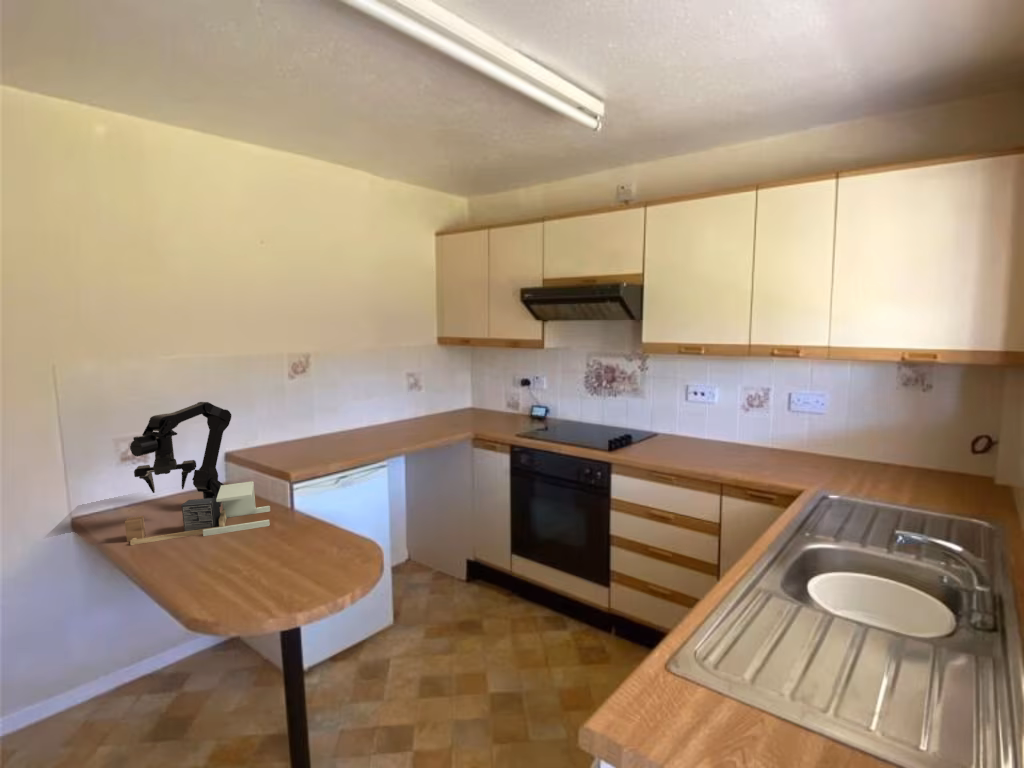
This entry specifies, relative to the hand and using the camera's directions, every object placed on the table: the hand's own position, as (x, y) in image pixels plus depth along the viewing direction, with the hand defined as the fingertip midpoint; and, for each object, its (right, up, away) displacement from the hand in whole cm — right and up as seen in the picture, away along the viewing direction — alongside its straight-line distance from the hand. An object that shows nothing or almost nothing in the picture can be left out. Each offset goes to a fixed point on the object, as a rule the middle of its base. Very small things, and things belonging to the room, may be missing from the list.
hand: (168, 490), depth 201 cm
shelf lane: (+26, -12, 0) cm, 29 cm away
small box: (+16, -13, -5) cm, 21 cm away
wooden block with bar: (+9, -13, -8) cm, 18 cm away
